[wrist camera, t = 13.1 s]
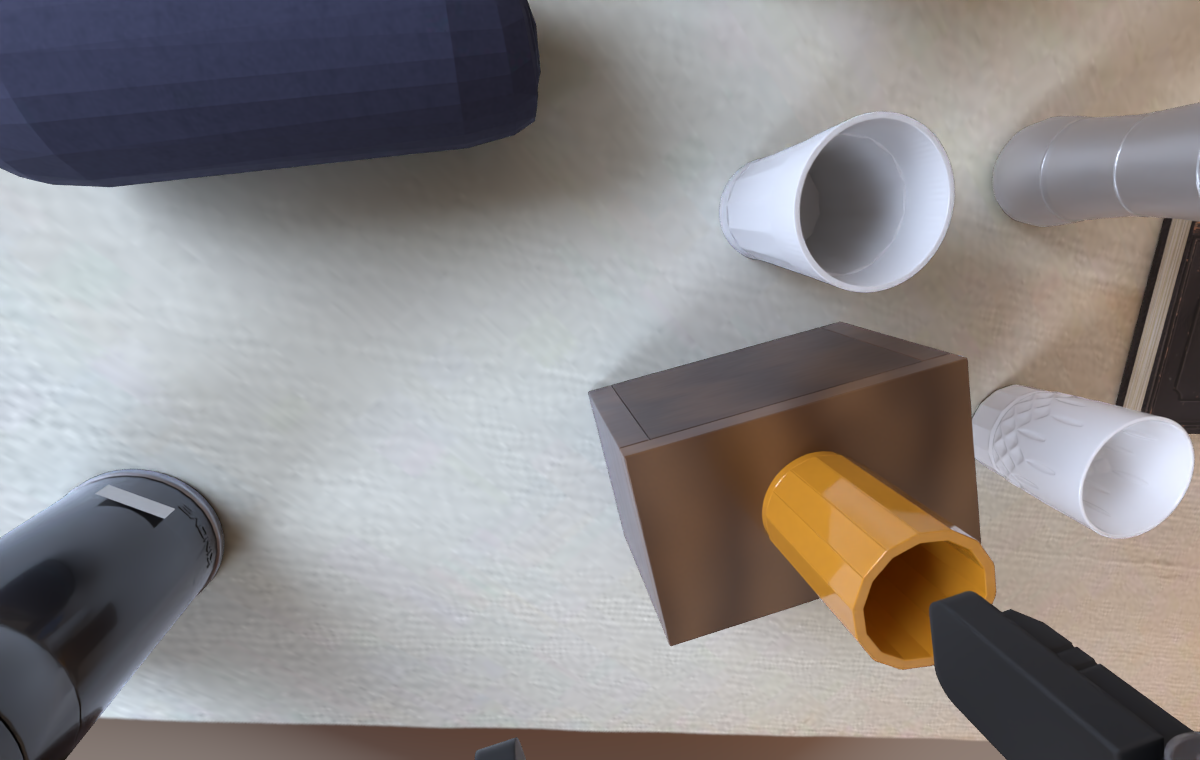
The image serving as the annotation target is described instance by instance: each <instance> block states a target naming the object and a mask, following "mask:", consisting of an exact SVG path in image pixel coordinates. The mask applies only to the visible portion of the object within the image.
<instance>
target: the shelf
mask: <svg viewBox="0 0 1200 760" xmlns="http://www.w3.org/2000/svg"><path fill="white" fill-rule="evenodd" d="M588 394H589V398H590V402H591V406H592V410H593V414H594V418H595V422H596V426H597V429H598V433H599V437H600V441H601V445H602V449H603V453H604V457H605V461H606V465H607V469H608V473H609V477H610V481H611V485H612V489H613V492H614V496H615V500H616V504H617V508H618V512H619V516H620V520H621V524H622V528H623V532H624V536H625V538H626V541H627V543H628V545H629V548H630V550H631V553H632V555H633V558H634V560H635V562H636V565H637V567H638V570H639V572H640V575H641V577H642V579H643V582H644V584H645V587H646V589H647V591H648V594H649V596H650V599H651V601H652V604H653V606H654V608H655V611H656V613H657V616H658V618H659V621H660V623H661V625H662V628H663V630H664V633H665V635H666V638H667V640H668V642H669V645H670V646H673V645H676V644H679V643H683V642H686V641H689V640H692V639H695V638H698V637H701V636H704V635H707V634H711V633H714V632H717V631H720V630H723V629H726V628H729V627H732V626H735V625H739V624H742V623H745V622H748V621H751V620H754V619H757V618H760V617H763V616H767V615H770V614H773V613H776V612H779V611H782V610H785V609H788V608H791V607H795V606H798V605H801V604H804V603H807V602H810V601H813V600H816V599H819V596H818V595H817V594H816V593H815V592H814V591H813V590H812V588H811V587H810V586H809V585H808V584H807V583H806V581H805V580H804V579H803V578H802V577H801V576H800V574H799V573H798V572H797V571H796V570H795V569H794V568H793V566H792V565H791V564H790V563H789V562H788V561H787V559H786V558H785V557H784V556H783V555H782V554H781V552H780V551H779V550H778V549H777V548H776V546H775V545H774V544H773V543H772V542H771V540H770V539H769V537H768V536H767V534H766V531H765V529H764V525H763V520H762V507H763V501H764V497H765V494H766V492H767V489H768V487H769V485H770V484H771V482H772V480H773V479H774V478H775V476H776V475H777V474H778V473H779V472H780V471H781V470H782V469H783V468H784V467H785V466H786V465H787V464H789V463H790V462H792V461H793V460H795V459H797V458H799V457H801V456H803V455H806V454H809V453H813V452H820V451H831V452H837V453H840V454H843V455H845V456H847V457H849V458H851V459H853V460H854V461H856V462H859V463H861V464H862V465H864V466H865V467H867V468H868V469H870V470H871V471H873V472H875V473H876V474H878V475H879V476H881V477H882V478H884V479H885V480H887V481H888V482H890V483H891V484H893V485H894V486H896V487H897V488H899V489H900V490H902V491H903V492H905V493H906V494H908V495H909V496H911V497H912V498H914V499H915V500H917V501H918V502H920V503H922V504H923V505H925V506H926V507H928V508H929V509H931V510H932V511H934V512H935V513H937V514H938V515H940V516H941V517H943V518H944V519H946V520H947V521H949V522H950V523H952V524H953V525H955V526H956V527H958V528H959V529H961V530H962V531H964V532H965V533H967V534H969V535H970V536H972V537H973V538H975V539H976V540H977V541H979V543H980V544H981V537H980V523H979V509H978V496H977V482H976V469H975V455H974V441H973V428H972V414H971V400H970V387H969V373H968V360H967V358H966V357H962V356H959V355H955V354H950V353H948V352H944V351H941V350H937V349H934V348H930V347H927V346H923V345H920V344H916V343H913V342H909V341H906V340H903V339H899V338H896V337H892V336H889V335H885V334H882V333H878V332H875V331H871V330H868V329H864V328H861V327H857V326H854V325H850V324H847V323H843V322H838V323H834V324H830V325H827V326H823V327H820V328H816V329H812V330H809V331H805V332H801V333H798V334H794V335H791V336H787V337H783V338H780V339H776V340H772V341H769V342H765V343H762V344H758V345H754V346H751V347H747V348H744V349H740V350H736V351H733V352H729V353H726V354H722V355H718V356H715V357H711V358H708V359H704V360H700V361H697V362H693V363H690V364H686V365H682V366H679V367H675V368H671V369H668V370H664V371H661V372H657V373H653V374H650V375H646V376H643V377H639V378H635V379H632V380H628V381H625V382H621V383H617V384H614V385H612V386H607V387H603V388H600V389H596V390H592V391H589V392H588Z"/></svg>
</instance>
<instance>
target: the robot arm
mask: <svg viewBox="0 0 1200 760" xmlns="http://www.w3.org/2000/svg"><path fill="white" fill-rule="evenodd" d="M223 552H224V536H223V530H222V527H221V524H220V521H219V519H218V517H217V515H216V513H215V511H214V510H213V508H212V507H211V505H210V504H209V503H208V502H207V501H206V500H205V499H204V497H203V496H202V495H200V494H199V493H198V492H197V491H196V490H194V489H193V488H192V487H190V486H189V485H187V484H185V483H184V482H182V481H180V480H178V479H176V478H174V477H171V476H168V475H166V474H162V473H159V472H154V471H149V470H141V469H124V470H116V471H111V472H107V473H103V474H100V475H98V476H95V477H93V478H91V479H89V480H87V481H85V482H84V483H82V484H80V485H79V486H77V487H76V488H74V489H73V490H71V491H70V492H69V493H68V494H66V495H65V496H64V497H63V498H62V499H60V500H59V501H57V502H55V503H54V504H52V505H51V506H49V507H48V508H46V509H44V510H43V511H41V512H39V513H38V514H36V515H35V516H33V517H31V518H30V519H28V520H27V521H25V522H24V523H22V524H21V525H19V526H17V527H16V528H14V529H13V530H11V531H10V532H8V533H6V534H5V535H3V536H2V537H0V760H65V759H66V758H67V757H68V755H69V754H70V753H71V752H72V750H73V749H74V748H75V747H76V745H77V744H78V743H79V742H80V740H81V739H82V738H83V737H84V735H85V734H86V733H87V732H88V730H89V729H90V728H91V726H92V725H93V724H94V723H95V722H96V720H97V719H98V718H99V717H100V715H101V714H102V713H103V712H104V710H105V709H106V708H107V707H108V705H109V704H110V703H111V702H112V700H113V699H114V698H115V697H116V695H117V694H118V693H119V692H120V690H121V689H122V688H123V687H124V685H125V684H126V683H127V682H128V680H129V679H130V678H131V677H132V675H133V674H134V673H135V672H136V670H137V669H138V668H139V667H140V665H141V664H142V663H143V662H144V660H145V659H146V658H147V657H148V655H149V654H150V653H151V652H152V650H153V649H154V648H155V647H156V645H157V644H158V643H159V642H160V640H161V639H162V638H163V637H164V635H165V634H166V633H167V632H168V630H169V629H170V628H171V627H172V625H173V624H174V623H175V622H176V620H177V619H178V618H179V617H180V616H181V614H182V613H183V612H184V611H185V609H186V608H187V607H188V605H189V604H190V603H191V602H192V600H193V599H194V598H195V597H196V596H197V595H198V594H199V593H200V592H201V591H202V590H203V589H204V588H205V587H206V586H207V584H208V583H209V582H210V581H211V579H212V578H213V577H214V575H215V574H216V572H217V570H218V568H219V566H220V564H221V561H222V557H223ZM929 617H930V627H931V637H932V647H933V656H934V666H935V671H936V674H937V677H938V680H939V682H940V684H941V686H942V688H943V690H944V692H945V693H946V695H947V696H948V698H949V699H950V700H951V702H952V703H953V704H954V705H955V706H956V707H957V708H958V709H959V710H960V711H961V712H962V713H963V714H964V715H965V717H966V718H967V719H968V720H969V721H970V722H971V723H972V724H973V725H974V726H975V727H976V728H977V729H978V730H979V731H980V732H981V733H982V734H983V735H984V736H985V737H986V739H987V740H988V741H989V742H990V743H991V744H992V745H993V746H994V747H995V748H996V749H997V750H998V751H999V752H1000V753H1001V754H1002V755H1003V756H1004V757H1005V758H1006V759H1007V760H1200V732H1194V731H1193V730H1191V729H1190V728H1188V727H1187V726H1185V725H1184V724H1182V723H1181V722H1180V721H1178V720H1177V719H1176V718H1174V717H1173V716H1171V715H1170V714H1169V713H1167V712H1166V711H1165V710H1163V709H1162V708H1160V707H1159V706H1158V705H1156V704H1155V703H1154V702H1152V701H1151V700H1149V699H1148V698H1147V697H1145V696H1144V695H1143V694H1141V693H1140V692H1138V691H1137V690H1136V689H1134V688H1133V687H1132V686H1130V685H1129V684H1127V683H1126V682H1125V681H1123V680H1122V679H1121V678H1119V677H1118V676H1116V675H1115V674H1114V673H1112V672H1111V671H1110V670H1108V669H1107V668H1105V667H1104V666H1103V665H1101V664H1097V663H1096V662H1095V660H1094V659H1093V658H1092V657H1090V656H1089V655H1088V654H1086V653H1085V652H1083V651H1082V650H1081V649H1079V648H1078V647H1073V645H1072V643H1071V642H1070V641H1068V640H1067V639H1066V638H1064V637H1063V636H1061V635H1060V634H1059V633H1057V632H1056V631H1055V630H1053V629H1052V628H1050V627H1049V626H1048V625H1046V624H1045V623H1043V622H1041V621H1038V620H1036V619H1033V618H1031V617H1028V616H1026V615H1024V614H1021V613H1019V612H1016V611H1014V610H1011V609H1010V610H1007V611H1004V612H1001V611H999V610H998V609H997V608H996V607H994V606H993V605H992V604H990V603H989V602H988V601H986V600H985V599H984V598H983V597H981V596H980V595H978V594H977V593H975V592H973V591H966V592H963V593H960V594H957V595H954V596H951V597H948V598H945V599H941V600H938V601H935V602H933V603H931V604H930V607H929ZM475 760H526V759H525V755H524V752H523V749H522V746H521V744H520V741H519V739H518V738H517V737H516V738H513V739H510V740H507V741H504V742H501V743H498V744H495V745H492V746H489V747H486V748H483V749H480V750H477V751H476V753H475Z"/></svg>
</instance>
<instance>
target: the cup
mask: <svg viewBox="0 0 1200 760" xmlns="http://www.w3.org/2000/svg"><path fill="white" fill-rule="evenodd" d="M954 200H955V184H954V176H953V171H952V167H951V163H950V161H949V158H948V155H947V153H946V151H945V149H944V147H943V146H942V144H941V142H940V141H939V140H938V138H937V137H936V136H935V135H934V134H933V133H932V132H931V131H930V130H929V129H928V128H927V127H926V126H925V125H923V124H922V123H920V122H919V121H917V120H915V119H913V118H911V117H909V116H907V115H904V114H900V113H895V112H887V111H879V112H870V113H865V114H862V115H858V116H856V117H853V118H851V119H849V120H847V121H844V122H842V123H840V124H838V125H836V126H834V127H832V128H830V129H827V130H825V131H823V132H821V133H819V134H817V135H815V136H813V137H811V138H810V139H808V140H806V141H804V142H802V143H799V144H797V145H795V146H792V147H790V148H788V149H785V150H783V151H781V152H778V153H776V154H774V155H771V156H769V157H765V158H761V159H757V160H754V161H751V162H749V163H747V164H746V165H744V166H743V167H741V168H740V169H739V170H738V171H737V172H736V173H735V174H734V175H733V176H732V177H731V178H730V180H729V181H728V183H727V185H726V187H725V189H724V191H723V194H722V197H721V201H720V210H719V215H720V223H721V227H722V230H723V233H724V235H725V237H726V239H727V240H728V242H729V243H730V244H731V246H732V247H733V248H734V249H735V250H737V251H738V252H739V253H741V254H742V255H744V256H746V257H749V258H752V259H757V260H762V261H765V262H768V263H771V264H774V265H777V266H780V267H783V268H786V269H788V270H791V271H794V272H797V273H800V274H803V275H806V276H809V277H812V278H814V279H817V280H820V281H822V282H825V283H828V284H830V285H833V286H836V287H838V288H841V289H844V290H848V291H852V292H860V293H869V292H878V291H882V290H886V289H889V288H892V287H895V286H897V285H899V284H901V283H903V282H905V281H906V280H908V279H909V278H911V277H912V276H914V275H915V274H916V273H917V272H919V271H920V270H921V269H922V268H923V267H924V266H925V265H926V264H927V263H928V262H929V260H930V259H931V258H932V257H933V255H934V254H935V253H936V251H937V250H938V248H939V246H940V245H941V243H942V241H943V239H944V237H945V235H946V233H947V230H948V227H949V225H950V221H951V218H952V213H953V208H954Z"/></svg>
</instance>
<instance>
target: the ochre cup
mask: <svg viewBox="0 0 1200 760" xmlns="http://www.w3.org/2000/svg"><path fill="white" fill-rule="evenodd" d="M762 520H763V525H764V529H765V531H766V534H767V536H768V537H769V539H770V540H771V542H772V543H773V544H774V545H775V546H776V548H777V549H778V550H779V551H780V552H781V554H782V555H783V556H784V557H785V558H786V559H787V561H788V562H789V563H790V564H791V565H792V566H793V568H794V569H795V570H796V571H797V572H798V573H799V574H800V576H801V577H802V578H803V579H804V580H805V581H806V583H807V584H808V585H809V586H810V587H811V588H812V590H813V591H814V592H815V593H816V594H817V595H818V596H819V598H820V599H821V600H822V601H823V602H824V603H825V605H826V606H827V607H828V608H829V609H830V610H831V611H832V613H833V614H834V615H835V616H836V617H837V618H838V620H839V621H840V622H841V623H842V624H843V625H844V627H845V628H846V629H847V630H848V631H849V632H850V633H851V635H852V636H853V637H854V638H855V639H856V640H857V642H858V643H859V644H860V645H861V646H862V647H863V649H864V650H865V651H866V652H867V653H868V654H869V655H870V657H871V658H872V659H873V660H875V661H877V662H880V663H883V664H886V665H889V666H892V667H895V668H898V669H902V670H904V669H912V668H919V667H927V666H932V665H934V656H933V647H932V637H931V627H930V617H929V607H930V604H931V603H933V602H935V601H938V600H941V599H945V598H948V597H951V596H954V595H957V594H960V593H963V592H966V591H973V592H975V593H977V594H978V595H980V596H981V597H983V598H984V599H985V600H986V601H988V602H989V603H990V604H993V601H994V598H995V596H996V582H995V567H994V563H993V561H992V560H991V559H990V557H989V556H988V554H987V553H986V551H985V550H984V548H983V547H982V545H981V544H980V543H979V541H977V540H976V539H975V538H973V537H972V536H970V535H969V534H967V533H965V532H964V531H962V530H961V529H959V528H958V527H956V526H955V525H953V524H952V523H950V522H949V521H947V520H946V519H944V518H943V517H941V516H940V515H938V514H937V513H935V512H934V511H932V510H931V509H929V508H928V507H926V506H925V505H923V504H922V503H920V502H918V501H917V500H915V499H914V498H912V497H911V496H909V495H908V494H906V493H905V492H903V491H902V490H900V489H899V488H897V487H896V486H894V485H893V484H891V483H890V482H888V481H887V480H885V479H884V478H882V477H881V476H879V475H878V474H876V473H875V472H873V471H871V470H870V469H868V468H867V467H865V466H864V465H862V464H861V463H859V462H856V461H854V460H853V459H851V458H849V457H847V456H845V455H843V454H840V453H837V452H831V451H820V452H813V453H809V454H806V455H803V456H801V457H799V458H797V459H795V460H793V461H792V462H790V463H789V464H787V465H786V466H785V467H784V468H783V469H782V470H781V471H780V472H779V473H778V474H777V475H776V476H775V478H774V479H773V480H772V482H771V484H770V485H769V487H768V489H767V492H766V494H765V497H764V501H763V507H762Z"/></svg>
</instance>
